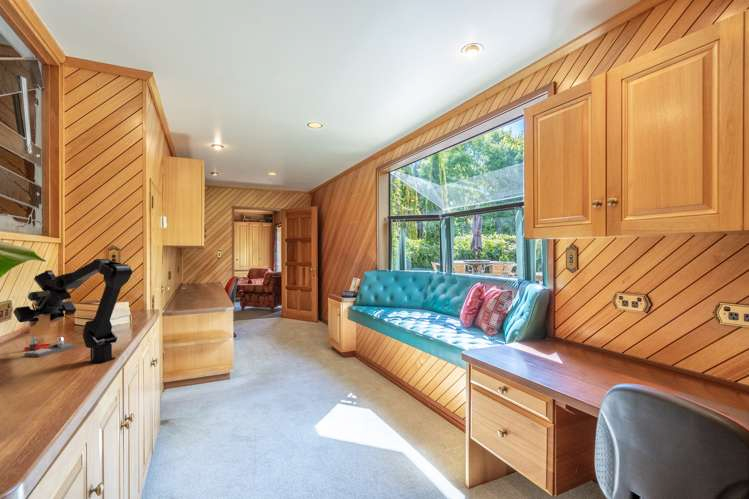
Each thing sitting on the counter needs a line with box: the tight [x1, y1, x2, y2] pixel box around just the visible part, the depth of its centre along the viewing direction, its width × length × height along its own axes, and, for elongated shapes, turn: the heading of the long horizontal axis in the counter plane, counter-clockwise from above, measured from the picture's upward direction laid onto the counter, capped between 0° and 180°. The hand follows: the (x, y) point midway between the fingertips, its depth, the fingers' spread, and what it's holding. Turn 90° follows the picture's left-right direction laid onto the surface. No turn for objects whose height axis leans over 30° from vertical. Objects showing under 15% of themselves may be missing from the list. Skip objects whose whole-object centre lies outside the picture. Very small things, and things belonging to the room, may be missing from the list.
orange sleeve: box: [29, 315, 51, 338], centre depth 145 cm, size 5×5×10 cm
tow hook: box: [23, 336, 54, 351], centre depth 156 cm, size 8×13×9 cm
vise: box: [24, 336, 75, 358], centre depth 149 cm, size 7×14×5 cm, turn 170°
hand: (38, 324), depth 146 cm, fingers closed on orange sleeve, 5 cm apart
